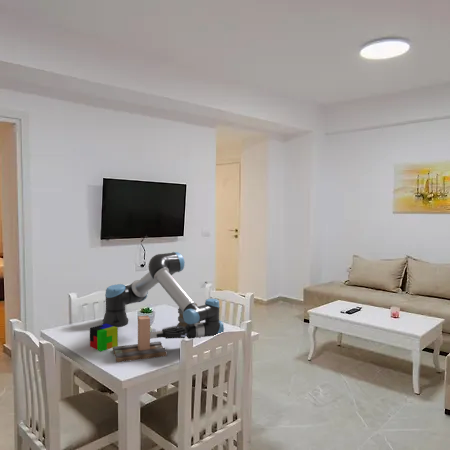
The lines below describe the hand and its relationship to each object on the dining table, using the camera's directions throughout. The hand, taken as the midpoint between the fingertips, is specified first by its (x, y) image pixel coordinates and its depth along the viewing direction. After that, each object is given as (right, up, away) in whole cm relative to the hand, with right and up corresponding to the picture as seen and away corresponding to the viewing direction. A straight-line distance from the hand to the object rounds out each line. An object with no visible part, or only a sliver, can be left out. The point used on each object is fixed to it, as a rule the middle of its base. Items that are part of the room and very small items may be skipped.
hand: (149, 335), depth 206 cm
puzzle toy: (-25, -8, +8) cm, 28 cm away
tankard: (+18, -7, +40) cm, 44 cm away
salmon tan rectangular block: (-3, -7, 0) cm, 8 cm away
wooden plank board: (-5, -9, 0) cm, 10 cm away
